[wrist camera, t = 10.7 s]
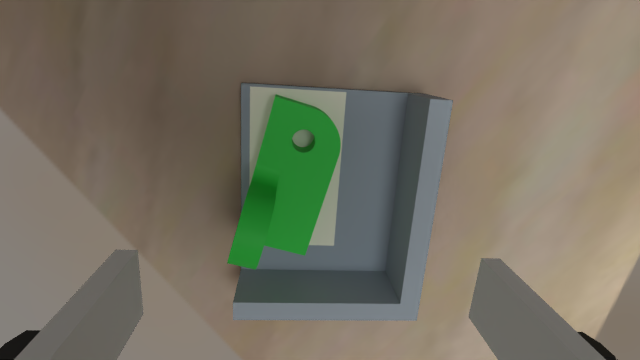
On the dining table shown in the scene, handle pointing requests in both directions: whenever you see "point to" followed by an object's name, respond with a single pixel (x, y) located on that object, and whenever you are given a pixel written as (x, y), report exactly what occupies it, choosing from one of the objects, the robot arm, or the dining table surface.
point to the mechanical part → (286, 183)
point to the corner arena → (352, 207)
